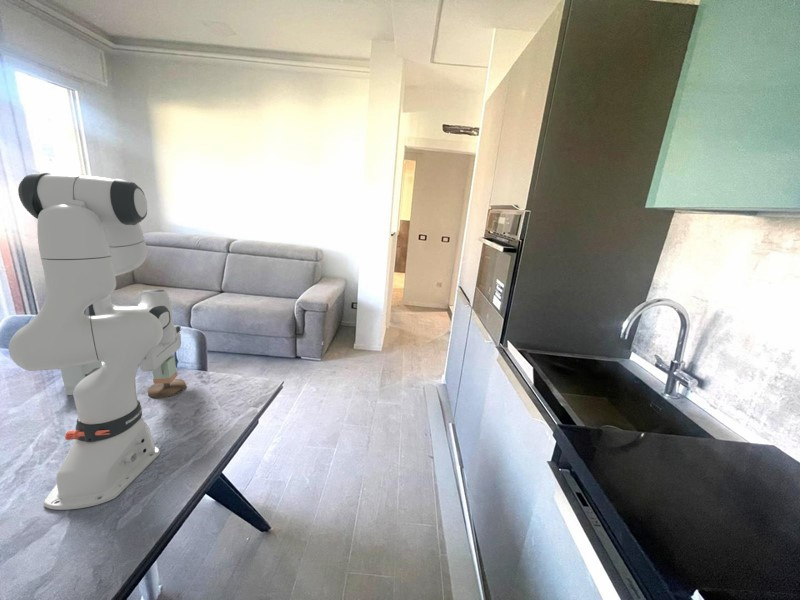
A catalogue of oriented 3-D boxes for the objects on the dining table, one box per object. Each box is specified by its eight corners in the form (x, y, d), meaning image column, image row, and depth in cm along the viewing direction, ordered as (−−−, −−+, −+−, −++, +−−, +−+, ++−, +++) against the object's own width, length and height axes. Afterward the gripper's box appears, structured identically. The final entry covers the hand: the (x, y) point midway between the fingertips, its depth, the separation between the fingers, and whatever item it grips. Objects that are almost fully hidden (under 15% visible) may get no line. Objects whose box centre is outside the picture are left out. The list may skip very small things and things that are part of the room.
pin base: (177, 397, 111) (175, 381, 109) (141, 398, 108) (138, 382, 107) (190, 381, 121) (189, 366, 119) (158, 382, 119) (155, 367, 117)
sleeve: (170, 383, 112) (167, 362, 110) (153, 384, 111) (150, 363, 109) (177, 375, 117) (175, 355, 115) (161, 376, 116) (158, 356, 114)
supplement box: (87, 396, 108) (79, 362, 105) (65, 395, 108) (57, 361, 105) (107, 385, 115) (100, 353, 112) (86, 384, 115) (79, 352, 112)
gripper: (153, 346, 100) (159, 385, 104) (182, 324, 119) (187, 357, 123) (130, 347, 99) (137, 386, 103) (163, 324, 118) (168, 358, 122)
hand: (164, 370), depth 113 cm, fingers closed on sleeve, 5 cm apart
